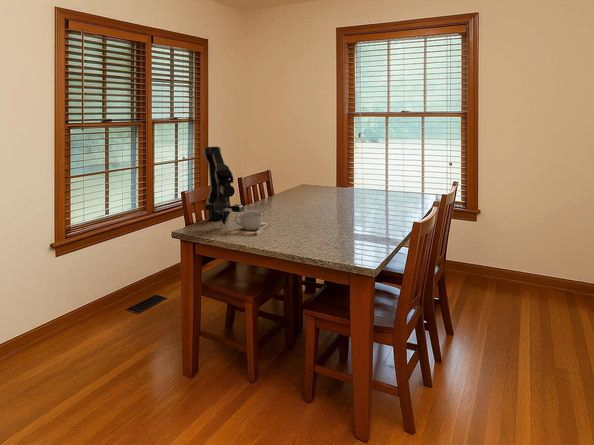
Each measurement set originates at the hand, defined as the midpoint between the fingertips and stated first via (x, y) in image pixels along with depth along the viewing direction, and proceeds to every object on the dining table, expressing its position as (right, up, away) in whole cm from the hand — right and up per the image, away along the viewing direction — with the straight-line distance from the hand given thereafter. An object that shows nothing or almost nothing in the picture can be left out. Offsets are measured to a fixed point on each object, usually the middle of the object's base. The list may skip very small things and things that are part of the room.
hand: (224, 224), depth 231 cm
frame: (+12, -3, -3) cm, 13 cm away
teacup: (+12, -3, -3) cm, 13 cm away
